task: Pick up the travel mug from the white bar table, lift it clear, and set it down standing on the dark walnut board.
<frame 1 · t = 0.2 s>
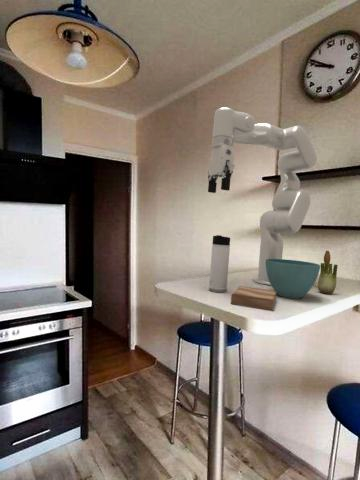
hand: (218, 191, 106), 36 cm above the table, tool pointing down, fingers open, 9 cm apart
travel mug: (217, 291, 103), on the table
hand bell: (324, 287, 125), on the table
teal bowl: (289, 296, 104), on the table
walnut board: (254, 301, 91), on the table
fennel bulb: (325, 294, 112), on the table
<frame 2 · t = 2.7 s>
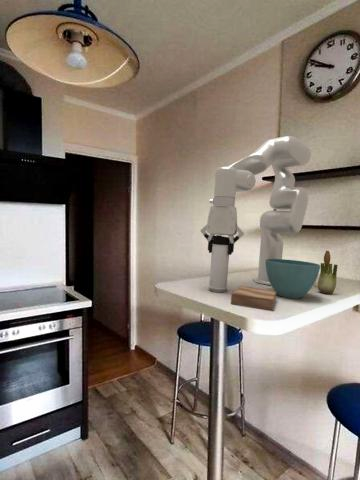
hand: (220, 253, 103), 14 cm above the table, tool pointing down, fingers closed on travel mug, 6 cm apart
travel mug: (217, 291, 103), on the table, touching gripper
everything else where it was.
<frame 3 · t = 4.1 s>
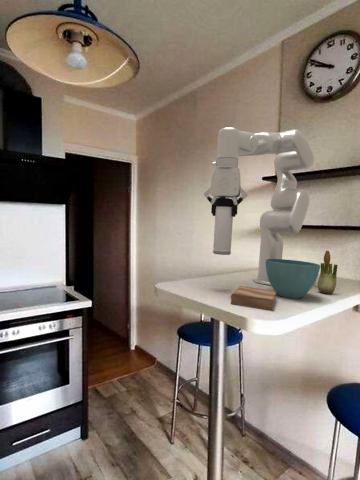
hand: (223, 215, 102), 27 cm above the table, tool pointing down, fingers closed on travel mug, 6 cm apart
travel mug: (221, 254, 103), point 13 cm above the table, touching gripper
everything else where it was.
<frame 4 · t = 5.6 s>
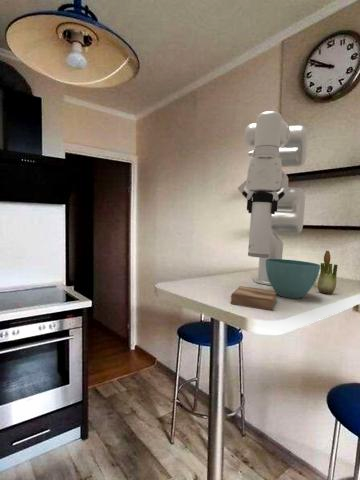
hand: (261, 212, 89), 28 cm above the table, tool pointing down, fingers closed on travel mug, 6 cm apart
travel mug: (257, 257, 90), point 14 cm above the table, touching gripper
everything else where it was.
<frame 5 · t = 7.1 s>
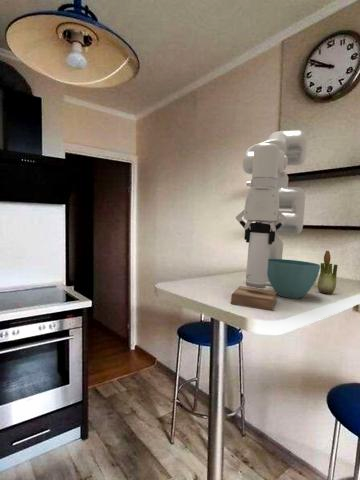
hand: (259, 242, 90), 19 cm above the table, tool pointing down, fingers closed on travel mug, 6 cm apart
travel mug: (255, 286, 90), point 5 cm above the table, touching gripper
everything else where it was.
when the fingers open (17 cm above the table, at t = 8.3 s): travel mug stays where it is, resting on walnut board.
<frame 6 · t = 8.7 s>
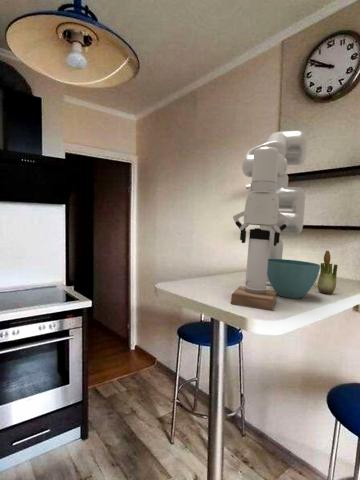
hand: (258, 244, 90), 18 cm above the table, tool pointing down, fingers open, 9 cm apart
travel mug: (254, 292, 91), point 3 cm above the table, touching walnut board
everything else where it was.
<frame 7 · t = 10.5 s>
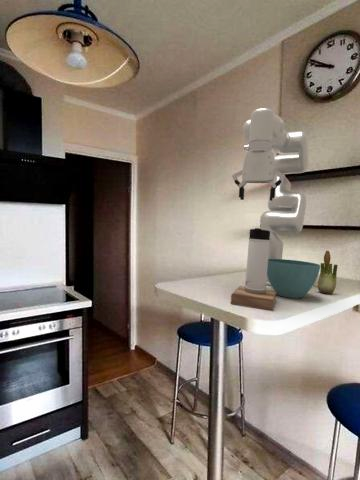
hand: (256, 200, 98), 33 cm above the table, tool pointing down, fingers open, 9 cm apart
nothing on the table moved.
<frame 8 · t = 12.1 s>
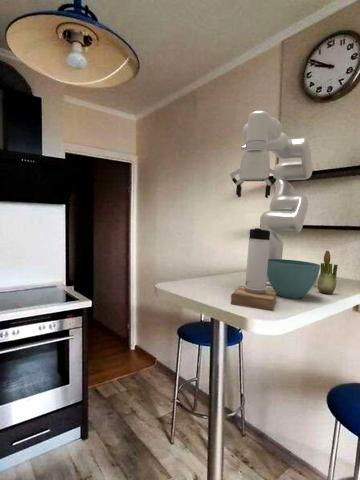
hand: (252, 197, 103), 34 cm above the table, tool pointing down, fingers open, 9 cm apart
nothing on the table moved.
at the end: travel mug inside the target area on the walnut board (0.2 cm from its centre), point 3.0 cm above the walnut board's base; travel mug tilted 0°; the gripper is holding nothing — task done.
